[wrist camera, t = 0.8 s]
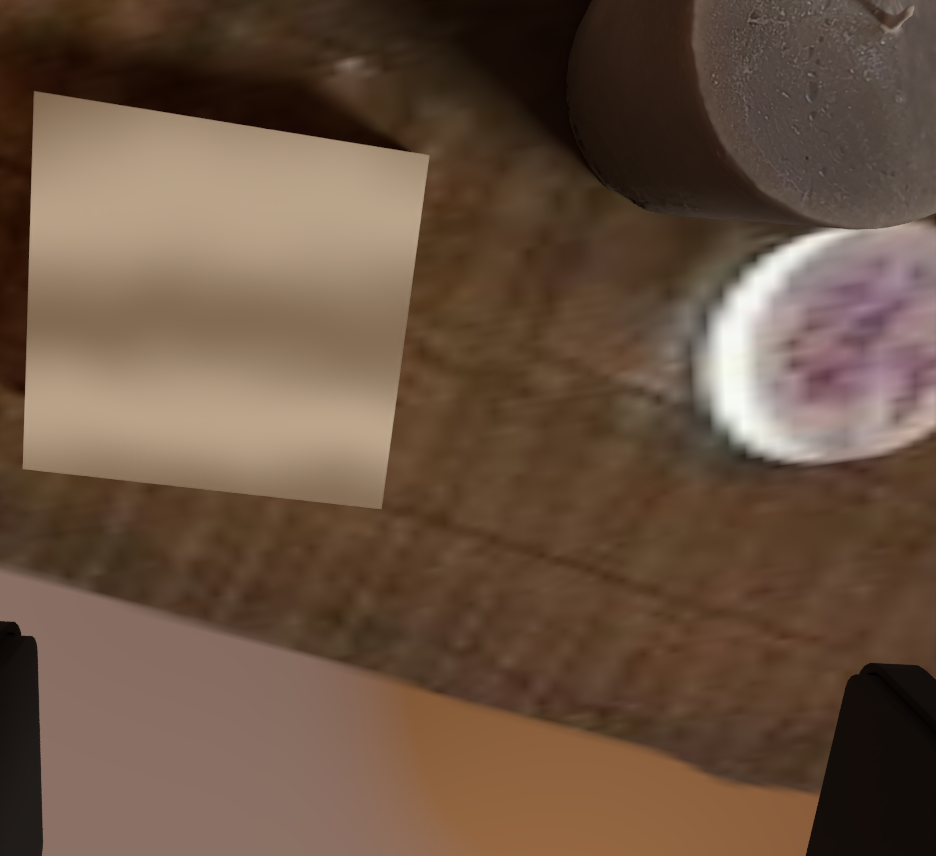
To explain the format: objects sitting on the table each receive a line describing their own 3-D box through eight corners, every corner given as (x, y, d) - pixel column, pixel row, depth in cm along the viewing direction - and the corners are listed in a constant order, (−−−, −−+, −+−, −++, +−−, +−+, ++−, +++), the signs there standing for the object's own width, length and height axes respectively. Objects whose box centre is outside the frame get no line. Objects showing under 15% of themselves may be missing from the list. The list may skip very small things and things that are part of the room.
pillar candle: (564, 219, 35) (698, 245, 20) (565, -59, 32) (719, -252, 18) (803, 211, 36) (1093, 231, 21) (823, -59, 33) (1168, -244, 19)
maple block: (96, 107, 33) (33, 91, 27) (421, 160, 34) (429, 155, 28) (81, 422, 36) (22, 468, 30) (382, 458, 37) (381, 509, 31)
